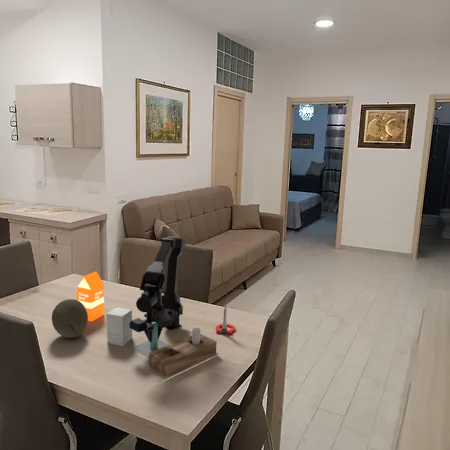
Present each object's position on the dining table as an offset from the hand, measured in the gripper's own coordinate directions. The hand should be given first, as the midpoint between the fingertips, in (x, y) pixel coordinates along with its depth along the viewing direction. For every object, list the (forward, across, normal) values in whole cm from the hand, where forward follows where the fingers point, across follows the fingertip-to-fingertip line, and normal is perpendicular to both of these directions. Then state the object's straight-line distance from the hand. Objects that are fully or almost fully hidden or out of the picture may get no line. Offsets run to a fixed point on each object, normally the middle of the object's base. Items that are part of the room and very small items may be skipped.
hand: (153, 340), depth 163 cm
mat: (+3, 0, 0) cm, 3 cm away
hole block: (+3, +3, -14) cm, 15 cm away
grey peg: (+3, +9, -14) cm, 17 cm away
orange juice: (+4, -2, +43) cm, 43 cm away
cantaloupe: (+4, -18, +31) cm, 36 cm away
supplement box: (+4, -6, +14) cm, 16 cm away
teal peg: (+3, 0, 0) cm, 3 cm away
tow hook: (+4, +33, -7) cm, 34 cm away
